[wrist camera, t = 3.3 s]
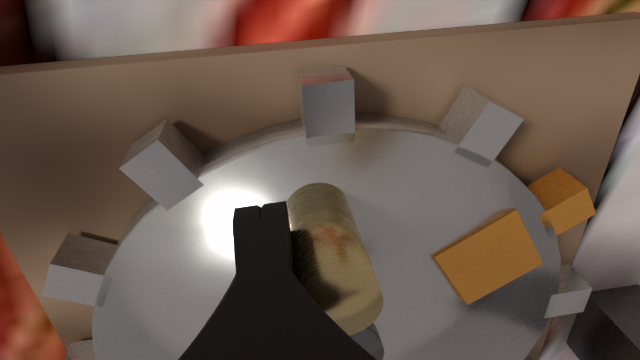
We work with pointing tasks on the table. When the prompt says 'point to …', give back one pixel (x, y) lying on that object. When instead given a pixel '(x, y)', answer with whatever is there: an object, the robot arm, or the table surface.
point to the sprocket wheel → (340, 232)
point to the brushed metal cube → (608, 326)
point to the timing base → (294, 117)
